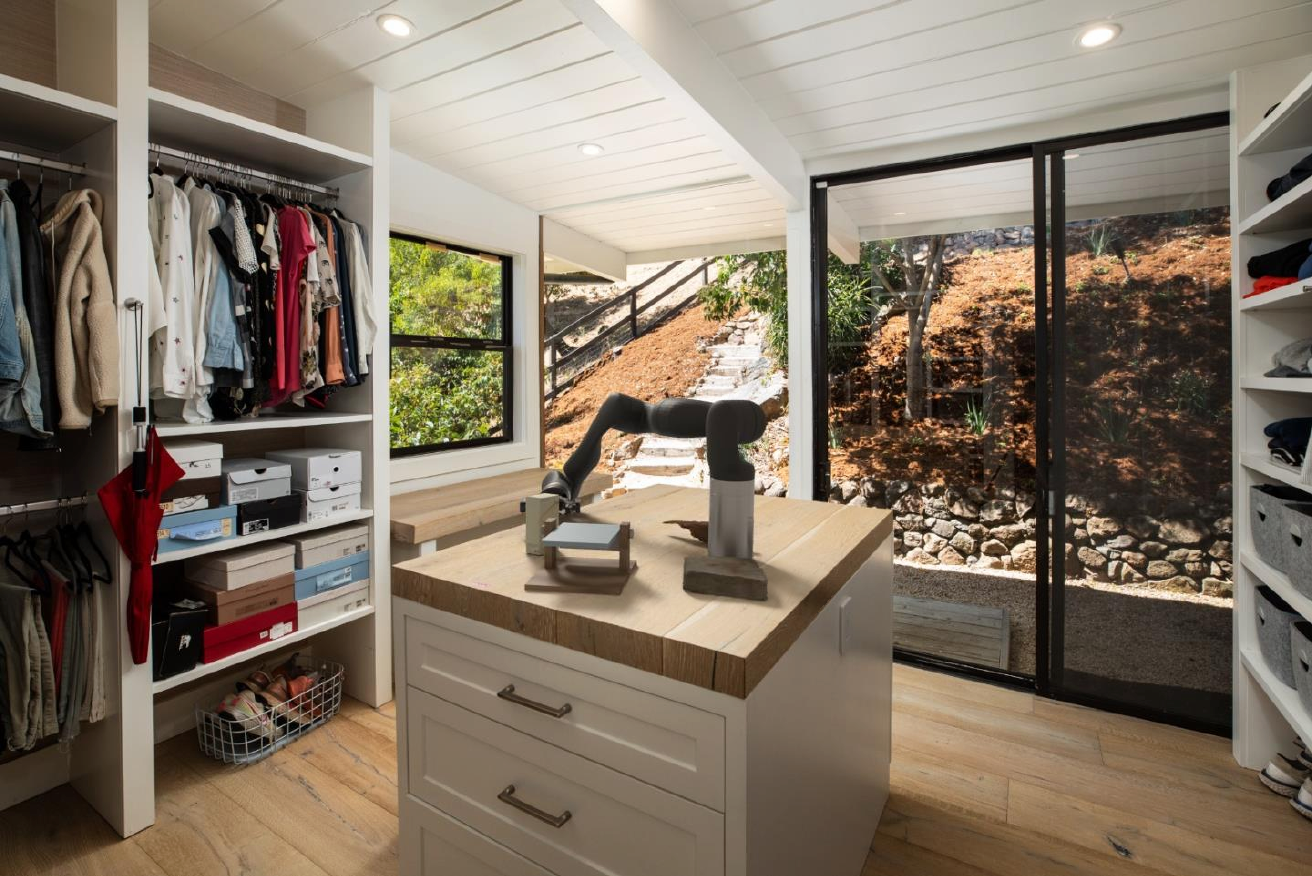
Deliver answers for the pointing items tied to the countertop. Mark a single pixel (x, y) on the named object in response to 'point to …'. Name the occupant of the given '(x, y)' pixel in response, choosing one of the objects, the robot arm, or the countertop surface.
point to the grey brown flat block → (725, 577)
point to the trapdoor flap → (584, 537)
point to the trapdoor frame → (584, 568)
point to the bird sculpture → (694, 528)
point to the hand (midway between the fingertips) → (547, 511)
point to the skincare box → (539, 519)
